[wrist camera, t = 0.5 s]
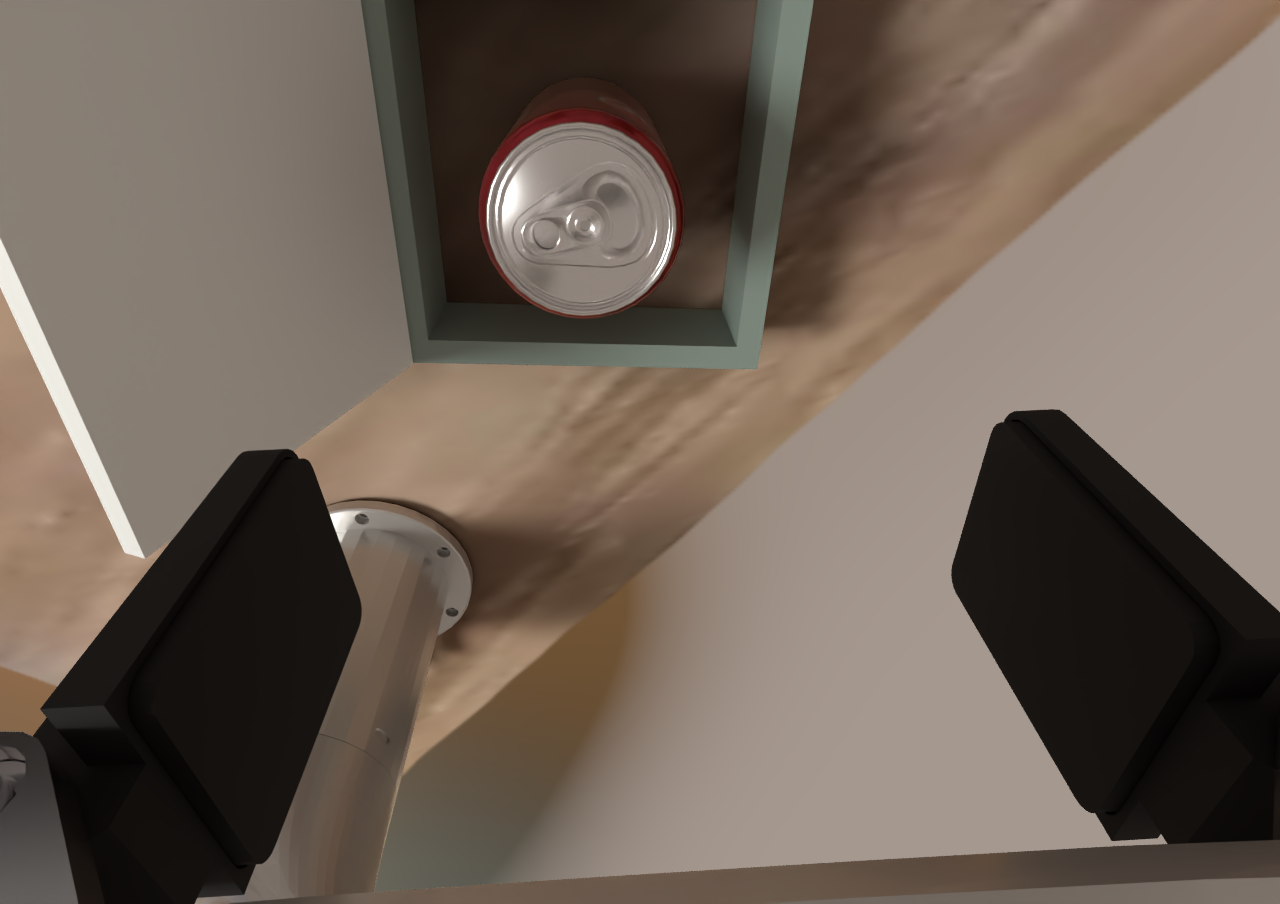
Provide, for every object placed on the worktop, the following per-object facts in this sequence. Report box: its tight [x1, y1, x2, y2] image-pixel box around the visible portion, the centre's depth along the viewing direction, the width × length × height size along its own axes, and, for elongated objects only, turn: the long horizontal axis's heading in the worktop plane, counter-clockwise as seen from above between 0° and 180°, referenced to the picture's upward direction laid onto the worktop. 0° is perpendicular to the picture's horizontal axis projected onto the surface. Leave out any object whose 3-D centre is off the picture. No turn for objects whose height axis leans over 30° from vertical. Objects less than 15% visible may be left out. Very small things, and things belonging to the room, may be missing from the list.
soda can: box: [478, 77, 685, 319], centre depth 29 cm, size 7×7×12 cm
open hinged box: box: [0, 0, 814, 558], centre depth 26 cm, size 17×23×19 cm
